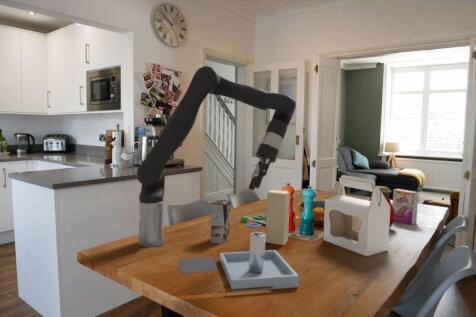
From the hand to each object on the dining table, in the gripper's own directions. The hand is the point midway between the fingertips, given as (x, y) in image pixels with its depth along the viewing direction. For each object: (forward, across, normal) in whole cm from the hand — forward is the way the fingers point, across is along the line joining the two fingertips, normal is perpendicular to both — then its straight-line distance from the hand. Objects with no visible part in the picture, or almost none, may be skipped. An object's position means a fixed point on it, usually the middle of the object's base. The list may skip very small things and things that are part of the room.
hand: (253, 188), depth 121 cm
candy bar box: (-23, -47, +86) cm, 101 cm away
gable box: (+2, -17, +50) cm, 53 cm away
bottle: (-13, -38, +69) cm, 80 cm away
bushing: (+25, +6, +10) cm, 28 cm away
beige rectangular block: (+13, -24, +21) cm, 34 cm away
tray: (+26, +6, +10) cm, 29 cm away
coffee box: (+21, -28, 0) cm, 35 cm away
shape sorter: (+3, -56, +23) cm, 61 cm away
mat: (+32, -1, -7) cm, 33 cm away
